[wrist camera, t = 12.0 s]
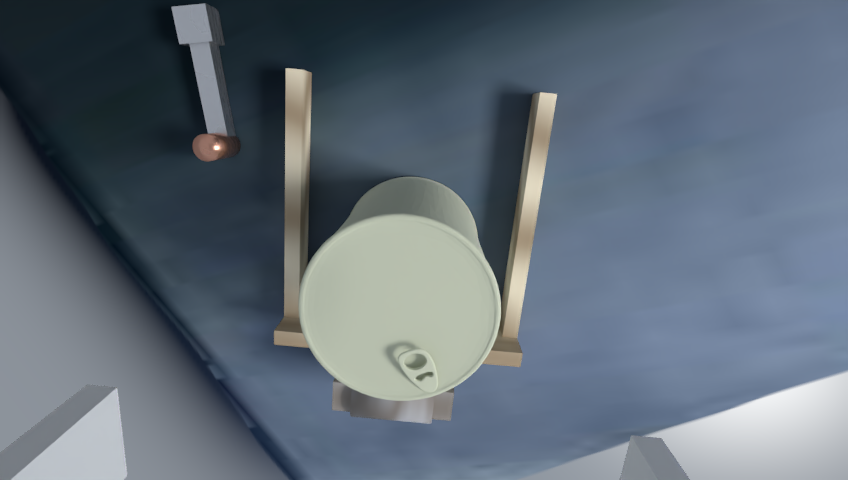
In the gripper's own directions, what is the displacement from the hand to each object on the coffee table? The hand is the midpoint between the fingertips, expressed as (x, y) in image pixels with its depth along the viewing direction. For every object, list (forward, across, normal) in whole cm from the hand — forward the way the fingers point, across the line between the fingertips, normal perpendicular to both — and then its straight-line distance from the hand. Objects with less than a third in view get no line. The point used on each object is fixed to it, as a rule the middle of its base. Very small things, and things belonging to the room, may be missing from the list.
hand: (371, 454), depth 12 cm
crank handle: (+20, -13, +9) cm, 26 cm away
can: (+20, 0, 0) cm, 20 cm away
